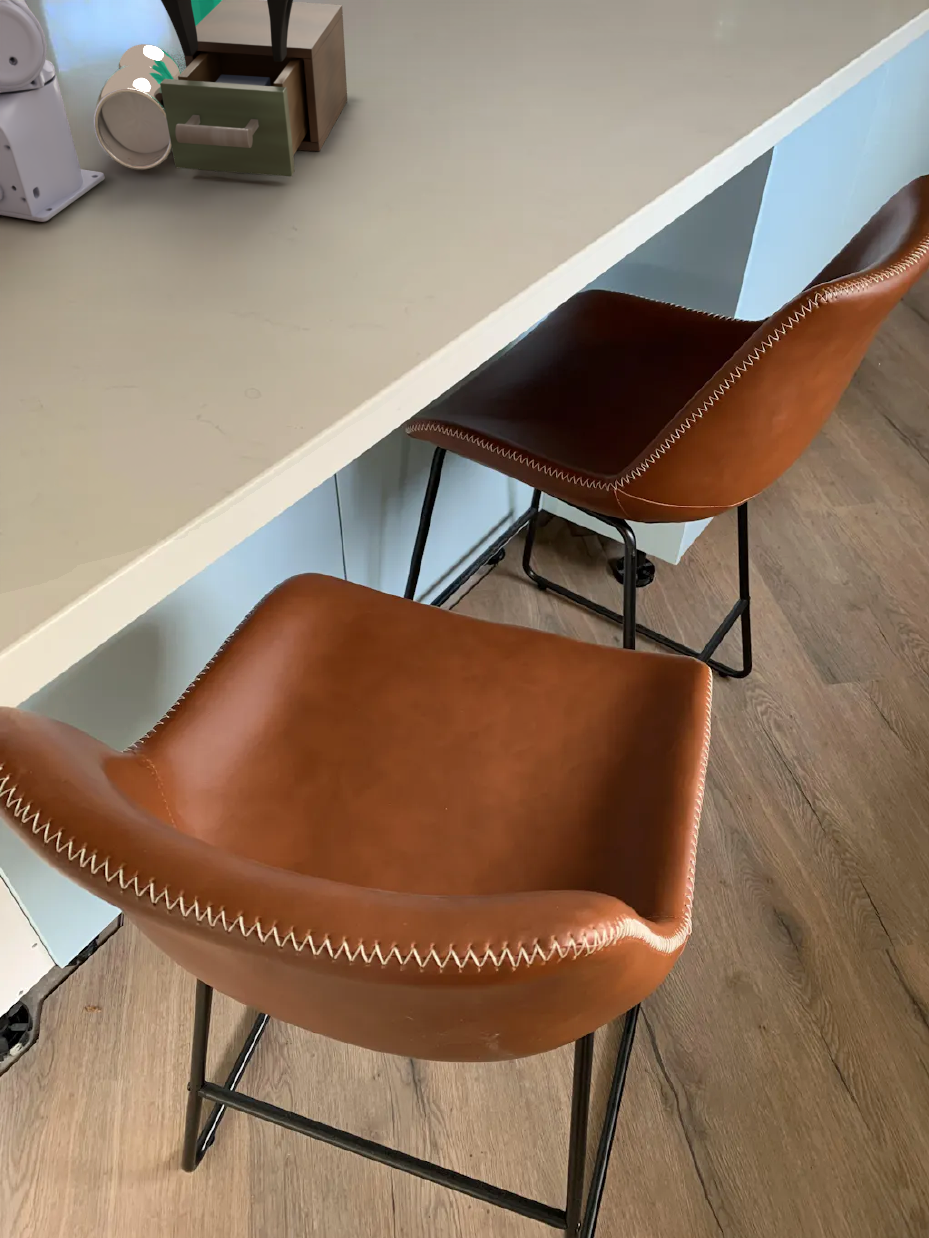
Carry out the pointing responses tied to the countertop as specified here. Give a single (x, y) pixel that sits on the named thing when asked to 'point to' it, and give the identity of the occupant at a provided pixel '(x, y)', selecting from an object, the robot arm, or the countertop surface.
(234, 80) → the block
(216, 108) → the drawer
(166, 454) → the countertop surface
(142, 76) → the beige cup
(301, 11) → the cabinet
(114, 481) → the countertop surface
